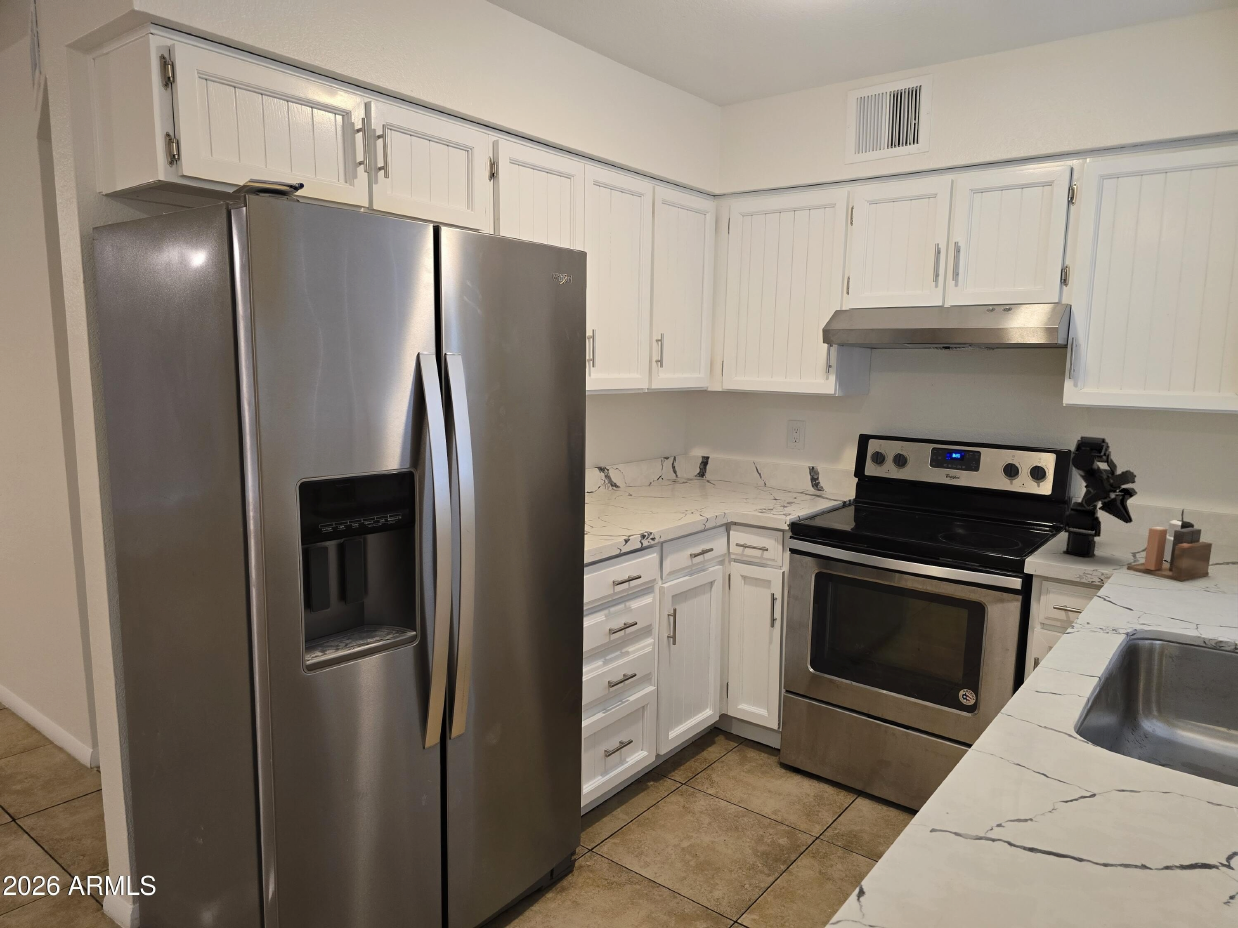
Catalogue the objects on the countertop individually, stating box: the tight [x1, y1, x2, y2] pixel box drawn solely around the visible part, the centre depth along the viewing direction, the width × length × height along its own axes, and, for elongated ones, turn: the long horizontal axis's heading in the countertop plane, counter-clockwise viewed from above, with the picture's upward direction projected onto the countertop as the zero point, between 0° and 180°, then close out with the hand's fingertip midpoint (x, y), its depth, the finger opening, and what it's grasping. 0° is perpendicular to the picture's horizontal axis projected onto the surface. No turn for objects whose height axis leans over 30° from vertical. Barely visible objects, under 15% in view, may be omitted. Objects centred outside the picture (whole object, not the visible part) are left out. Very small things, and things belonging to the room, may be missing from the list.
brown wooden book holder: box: [1126, 527, 1213, 583], centre depth 221 cm, size 14×16×12 cm
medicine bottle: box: [1163, 519, 1195, 563], centre depth 236 cm, size 7×7×12 cm
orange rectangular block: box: [1143, 526, 1168, 570], centre depth 219 cm, size 2×5×11 cm, turn 122°
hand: (1129, 522), depth 225 cm, fingers closed
